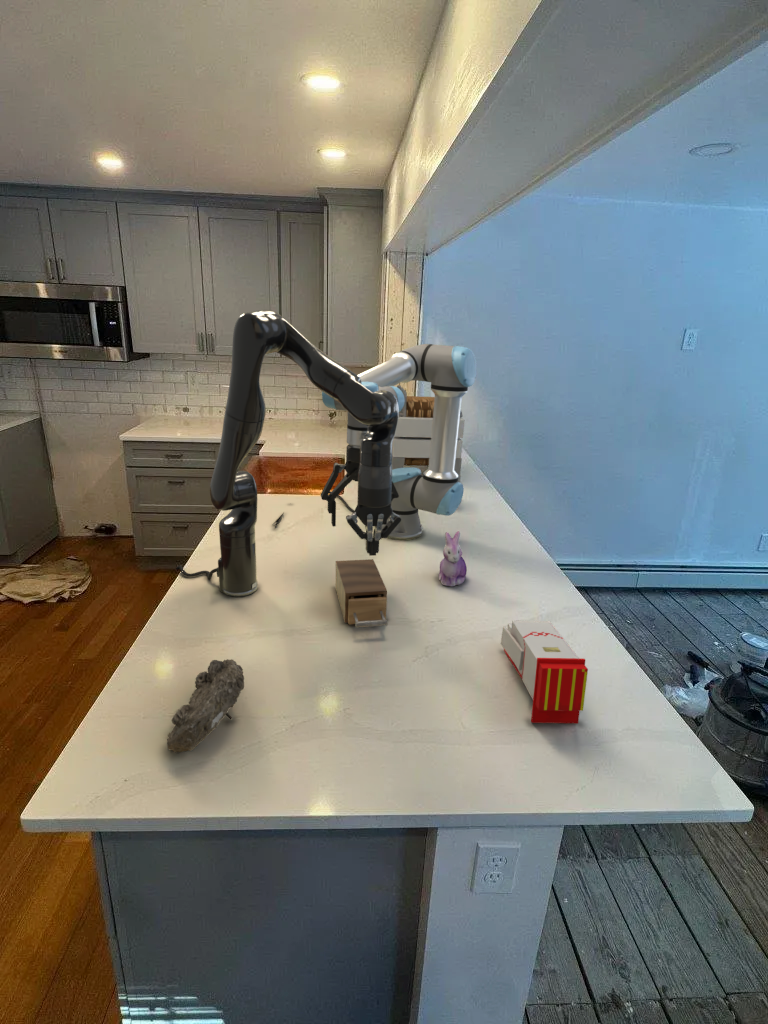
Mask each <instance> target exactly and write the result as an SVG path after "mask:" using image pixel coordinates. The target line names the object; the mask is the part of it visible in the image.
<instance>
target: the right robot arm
mask: <svg viewBox="0 0 768 1024" xmlns="http://www.w3.org/2000/svg"><path fill="white" fill-rule="evenodd" d="M477 366H478V365H477V359H476V356H475V354H474V352H473V350H472V349H471V348H469V347H466V346H461V345H460V346H459V345H446V344H432V343H421V344H416V345H413V346H410V347H406V348H404V349H402V350H400V351H398V352H396V353H394V354H393V355H392V356H391V357H390V358H389V360H386V361H383V362H382V363H380V364H378V365H376V366H373V367H371V368H369V369H366V370H365V371H362V372H361V373H358V374H356V375H357V376H358V377H359V378H360V379H361V382H362V385H363V386H365V387H366V388H367V389H369V390H370V391H372V392H376V391H379V390H387V391H389V392H391V393H392V394H393V395H394V396H395V397H396V399H397V401H398V406H399V412H400V411H401V410H402V408H403V406H404V402H405V401H404V395H403V393H402V391H401V390H400V389H399V388H397V386H398V385H399V384H401V383H402V384H407V383H409V382H412V381H418V382H427V383H430V390H431V391H432V393H433V394H434V397H435V399H434V411H433V422H432V433H431V444H430V455H429V465H428V466H427V468H426V470H424V471H423V473H422V470H421V468H419V467H412V466H411V467H408V466H406V467H404V468H397V469H393V470H392V492H391V507H392V509H393V512H394V513H395V514H398V515H399V516H400V518H401V522H400V523H399V524H398V525H397V526H396V527H395V529H394V530H393V531H392V532H391V533H390V535H389V536H388V537H387V538H386V539H389V540H395V541H410V540H415V539H418V538H420V537H421V536H422V535H423V530H424V527H423V524H421V518H420V515H419V510H420V511H424V512H428V513H432V514H436V515H438V516H439V515H441V516H445V517H448V516H449V517H450V516H452V515H453V514H454V513H456V511H457V510H458V508H459V507H460V505H461V502H462V500H463V496H464V493H465V492H464V491H465V489H464V484H463V483H461V481H460V482H458V474H457V473H456V472H455V470H454V469H455V460H456V450H457V440H458V431H459V421H460V411H461V412H462V403H463V402H462V401H463V396H464V395H466V394H467V393H468V389H469V388H471V387H472V386H474V384H475V382H476V378H477V373H478V367H477ZM321 400H322V402H323V405H324V406H325V407H327V408H329V409H333V410H335V411H343V412H344V411H345V412H347V424H346V443H347V445H346V450H345V451H346V454H345V455H346V456H345V458H346V459H345V463H344V464H343V463H338V462H334V463H333V468H332V472H331V473H330V475H329V478H328V479H327V481H326V483H325V485H324V487H323V488H322V491H321V492H320V498H321V500H322V501H326V502H327V512H328V514H331V526H332V527H336V526H337V525H336V522H337V521H336V520H337V502H336V500H335V499H336V498H339V500H340V501H341V502H342V503H343V504H344V506H345V507H346V508H347V509H348V510H349V511H350V512H352V514H353V513H354V512H355V509H353V508H352V507H350V506H349V504H348V503H347V501H346V500H345V499H344V498H343V497H342V496H341V495H340V494H341V493H342V492H343V491H344V490H345V488H347V486H348V485H349V484H351V483H352V482H353V481H354V482H358V472H359V466H360V445H361V440H362V439H363V437H364V436H365V435H366V433H367V428H368V426H366V425H364V424H362V423H361V422H359V421H358V420H356V419H355V418H354V417H353V416H352V415H351V414H350V413H349V412H348V411H347V410H346V409H345V408H344V407H343V406H342V404H341V403H340V402H338V401H336V400H335V399H333V398H332V397H330V396H329V395H327V394H326V393H324V392H323V391H321ZM343 470H344V471H345V472H346V474H345V475H344V476H343V478H342V479H341V480H340V482H338V484H337V485H336V486H335V487H334V485H335V483H336V481H337V479H338V477H339V475H340V473H342V472H343ZM333 487H334V488H333ZM389 518H390V517H389ZM389 518H388V519H387V521H386V522H385V523H384V524H383V525H382V529H383V528H384V527H385V525H386V524H387V523H388V522H389V521H390V520H389Z"/></svg>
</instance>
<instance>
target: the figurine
mask: <svg viewBox="0 0 768 1024" xmlns="http://www.w3.org/2000/svg"><path fill="white" fill-rule="evenodd" d="M444 538H445V546H444V548H443V550H442V554H443V558H442V559H441V561H440V562H439V571H438V572H439V573H438V580H439V582H440V583H441V585H442V586H447V587H455V586H457V585H458V586H460V585H461V584H463V583H464V581H465V580H466V576H467V573H468V572H467V571H468V569H467V563H466V561H465V559H464V557H463V551H462V548H461V546H460V538H461V532H460V531H459V530H458V531H456V532H455V534H454V535H453V537H452V536H451V534H450V533H449V532H448V531H446V532H445V533H444Z"/></svg>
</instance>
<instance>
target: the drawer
mask: <svg viewBox="0 0 768 1024" xmlns="http://www.w3.org/2000/svg"><path fill="white" fill-rule="evenodd" d="M387 601H388V597H387V598H386V597H381V594H377V595H360V596H349V600H348V622H347V623H348V625H354V626H355V628H364V627H365V628H366V627H367V628H368V627H379V626H388V619H387V604H388V603H387Z"/></svg>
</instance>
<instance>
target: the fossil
mask: <svg viewBox="0 0 768 1024" xmlns="http://www.w3.org/2000/svg"><path fill="white" fill-rule="evenodd" d="M243 670H244V669H243V667H242V665H240V664H237V662H236V661H235V660H234V659H232V658H231V659H227V658H226V659H224V660H223V661H222V660H217V659H212V660H211V661H210V663H209V665H208V666H207V671H201V672H199V673H198V674H197V675H196V676H195V680H194V684H195V685H194V687H195V689H194V690H193V693H192V694H191V697H190V698H189V700H188V704H184V705H182V706H181V707H180V709H177V710H176V711H175V713H174V715H173V716H172V718H171V723H172V724H173V727H172V730H171V731H170V732H168V734H167V738H166V741H167V742H166V745H167V749H168V750H169V751H173V752H174V753H176V754H178V753H182V752H188V751H189V752H192V751H193V750H195V748H196V747H197V746H199V744H200V743H201V742H203V741H204V740H205V739H206V738H207V737H208V736H209V735H210V734H211V733H212V732H214V730H215V729H217V727H218V726H219V724H220V722H221V721H222V720H223V719H224V718H225V716H226V717H227V719H229V720H233V717H232V715H230V714H229V710H230V709H231V708H234V706H235V704H236V703H237V702H238V699H239V697H240V695H241V693H242V691H243V690H245V689H244V688H245V675H244V671H243Z"/></svg>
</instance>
